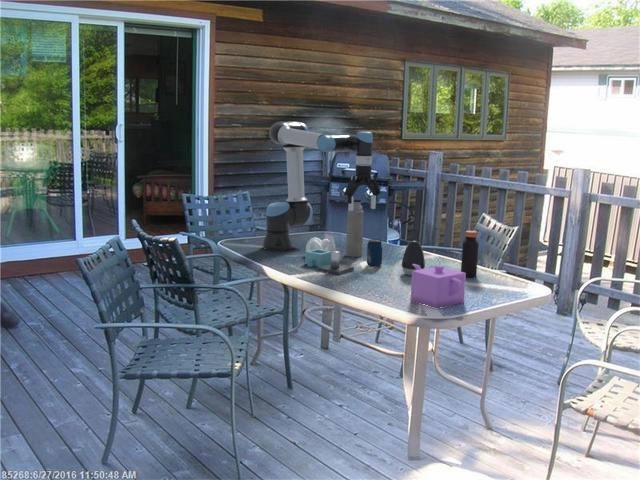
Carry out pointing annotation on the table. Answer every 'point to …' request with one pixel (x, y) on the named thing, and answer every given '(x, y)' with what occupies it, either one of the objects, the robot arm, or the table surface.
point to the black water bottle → (470, 254)
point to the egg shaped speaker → (413, 257)
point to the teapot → (437, 286)
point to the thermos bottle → (354, 230)
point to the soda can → (374, 253)
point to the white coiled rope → (317, 244)
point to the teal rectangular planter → (317, 257)
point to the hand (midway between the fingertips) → (362, 209)
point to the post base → (335, 270)
